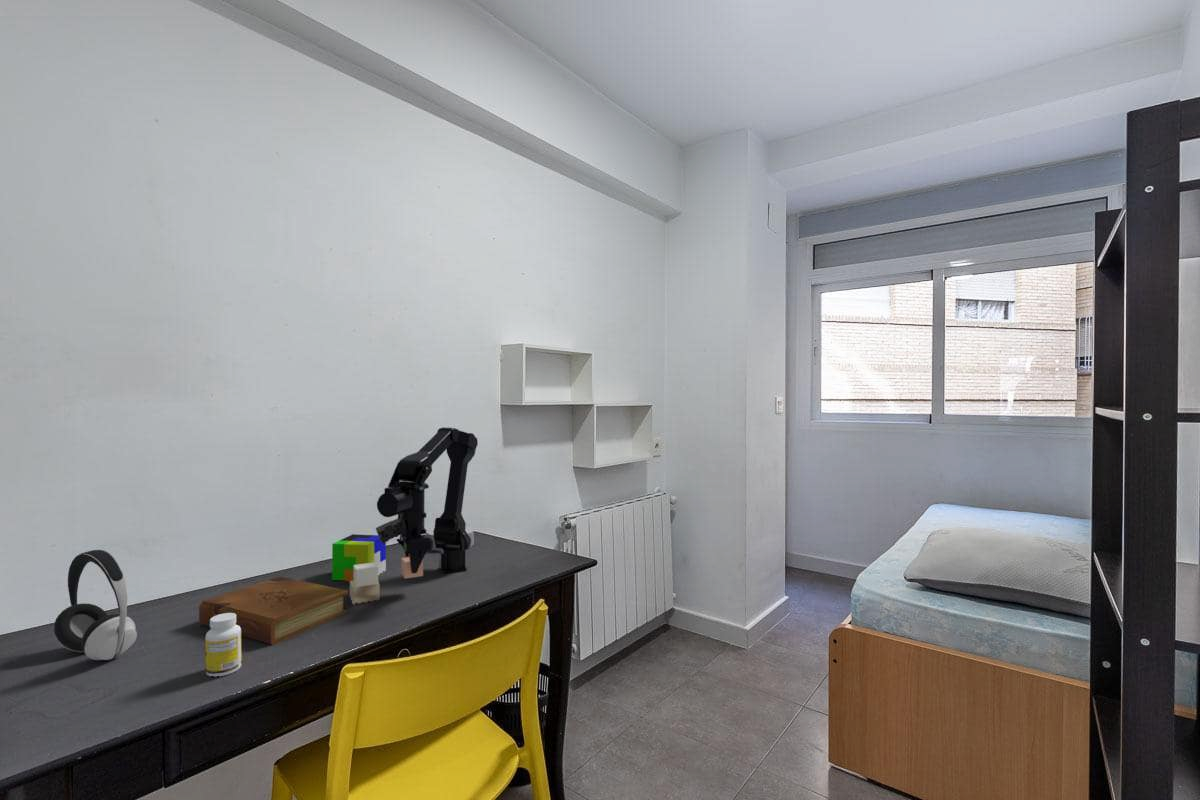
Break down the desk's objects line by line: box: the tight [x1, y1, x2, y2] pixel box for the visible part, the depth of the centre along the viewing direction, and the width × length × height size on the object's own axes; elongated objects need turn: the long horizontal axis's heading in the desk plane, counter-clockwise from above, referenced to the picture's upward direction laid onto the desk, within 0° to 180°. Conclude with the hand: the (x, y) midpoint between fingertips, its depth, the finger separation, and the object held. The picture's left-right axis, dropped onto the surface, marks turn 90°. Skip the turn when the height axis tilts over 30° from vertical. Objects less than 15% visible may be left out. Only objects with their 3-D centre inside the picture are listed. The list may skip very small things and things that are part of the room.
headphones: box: [53, 549, 138, 661], centre depth 107 cm, size 19×8×20 cm, turn 65°
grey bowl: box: [425, 526, 475, 552], centre depth 186 cm, size 15×15×5 cm
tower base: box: [349, 581, 381, 605], centre depth 138 cm, size 6×6×4 cm
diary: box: [198, 576, 349, 646], centre depth 125 cm, size 23×19×6 cm
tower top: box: [353, 562, 379, 587], centre depth 138 cm, size 5×5×4 cm
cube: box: [401, 556, 424, 579], centre depth 141 cm, size 4×4×4 cm
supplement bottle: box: [204, 613, 243, 678], centre depth 102 cm, size 5×5×10 cm
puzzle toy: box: [331, 533, 387, 582], centre depth 155 cm, size 10×10×10 cm
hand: (412, 570), depth 141 cm, fingers closed on cube, 4 cm apart
